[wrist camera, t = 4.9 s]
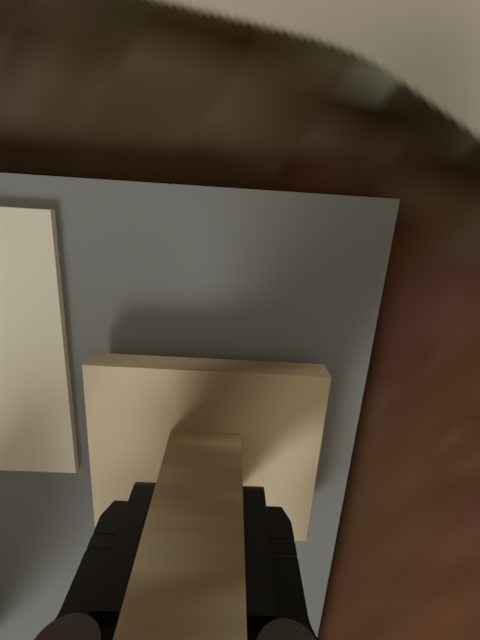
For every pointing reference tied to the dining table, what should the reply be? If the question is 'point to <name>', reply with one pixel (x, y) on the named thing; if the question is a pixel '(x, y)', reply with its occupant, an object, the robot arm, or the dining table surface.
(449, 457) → the dining table surface
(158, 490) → the square plate with post
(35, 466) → the plate
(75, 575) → the robot arm
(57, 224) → the mat
